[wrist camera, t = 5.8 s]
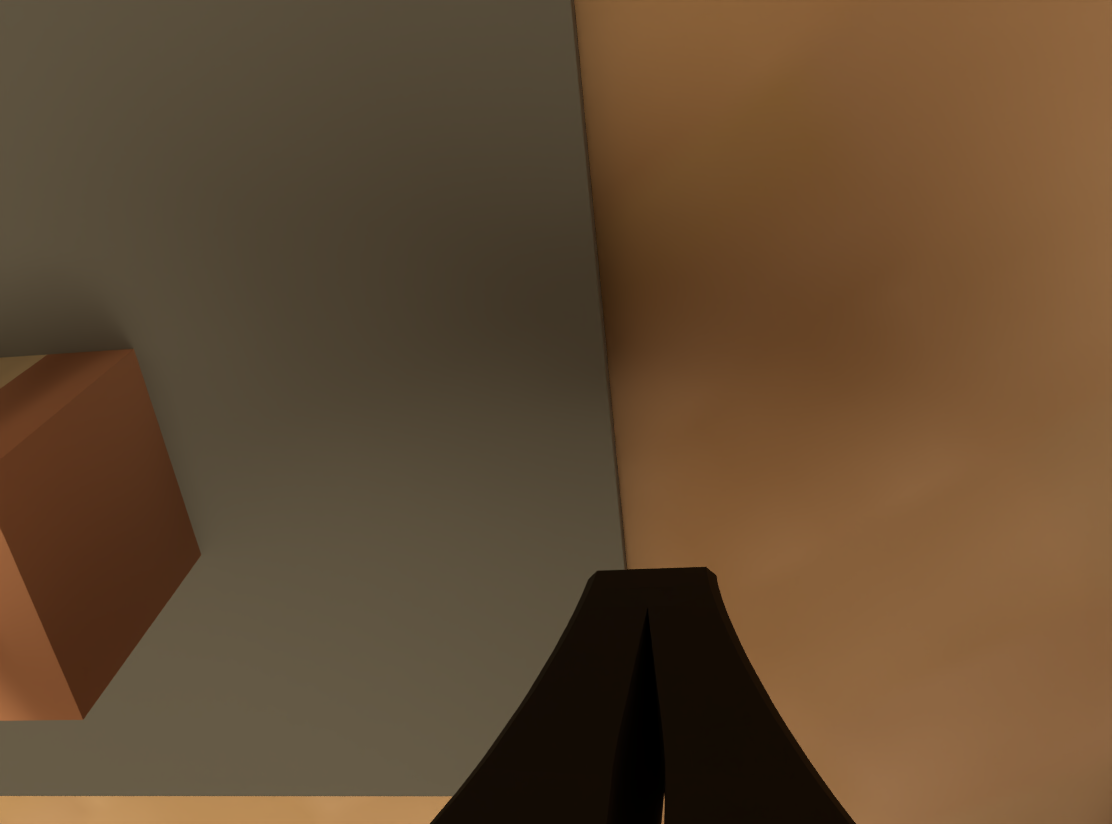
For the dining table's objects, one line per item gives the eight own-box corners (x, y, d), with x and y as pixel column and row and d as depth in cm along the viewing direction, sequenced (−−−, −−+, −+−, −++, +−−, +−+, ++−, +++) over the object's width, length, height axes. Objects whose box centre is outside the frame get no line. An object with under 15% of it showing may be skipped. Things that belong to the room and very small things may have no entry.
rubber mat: (646, 776, 19) (645, 796, 19) (-236, 777, 22) (-255, 795, 22) (561, -139, 12) (557, -140, 12) (-721, 28, 15) (-763, 33, 15)
